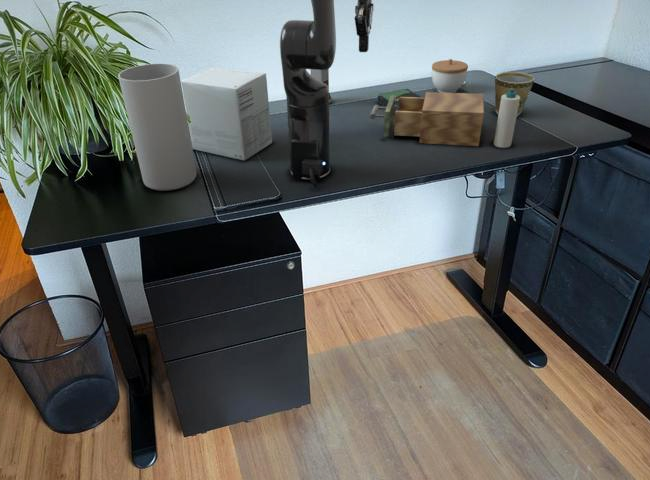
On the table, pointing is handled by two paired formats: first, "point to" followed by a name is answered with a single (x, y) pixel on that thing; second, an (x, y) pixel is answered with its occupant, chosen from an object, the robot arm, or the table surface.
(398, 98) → the disk drive
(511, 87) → the ceramic cup
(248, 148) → the supplement box
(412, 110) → the drawer
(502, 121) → the lotion bottle
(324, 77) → the vintage mobile phone
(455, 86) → the trinket box
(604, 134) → the table surface
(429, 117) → the cabinet
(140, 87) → the cylinder vase
